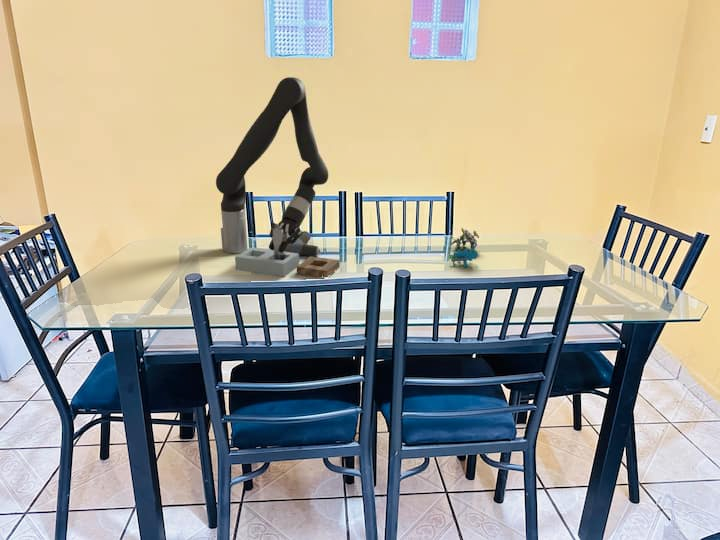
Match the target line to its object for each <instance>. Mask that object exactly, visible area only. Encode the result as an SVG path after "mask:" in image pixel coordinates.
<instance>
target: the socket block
mask: <svg viewBox="0 0 720 540" xmlns="http://www.w3.org/2000/svg"><path fill="white" fill-rule="evenodd" d="M340 263H341V261H340V260H339V259H332V258H326V257H320V256H319V257H317V256H309V257H308V258H306V259H305V260H304V261H302V262H301V263H299V265H298V266H297V268H296V275H301V276H306V277H312V278H318V277H322V276H323V277H328V276H329V275H331V274H332V273H333V272H334V271H335V270H337V269H338V268H339V267H341V265H340ZM339 269H340V268H339ZM339 269H338V270H339ZM338 270H337V271H338ZM334 273H335V272H334ZM334 273H333V274H334ZM333 274H332V275H333ZM332 275H331V276H332Z"/></svg>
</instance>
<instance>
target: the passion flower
mask: <svg viewBox="0 0 720 540" xmlns="http://www.w3.org/2000/svg"><path fill="white" fill-rule="evenodd" d="M461 232H462V234H461V235H460V236H459V237H457V238H455V237H453V234H450V239H451V240H452V239H454V241H452V242H451V244H450V246H453V245H454V244H455V243H456V246H455V249H454V251H456V250H457V248H459V247H460V246H461V244H462V246H463V247H464V246H466V245H467V243H469V244H470V249H472V250H473V252H474V251H477V250H476V247H478V243H477V239H479V238H480V236H479V234H478V233H477V231H476V230H473V234H472V232H470V231H469V230H467V229H465V230H464V228H463V227H462V228H461ZM475 237H476V238H477V239H476V238H475Z"/></svg>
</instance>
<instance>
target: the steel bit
mask: <svg viewBox="0 0 720 540" xmlns="http://www.w3.org/2000/svg"><path fill="white" fill-rule="evenodd" d="M283 240H284V229H283V228H274V229H273V248H274V259H276V260H284V259H285V251H284V252H283V253H280V252H279V251H278V248H279V247H280V245H281V243H282V241H283ZM283 242H284V241H283Z"/></svg>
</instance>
